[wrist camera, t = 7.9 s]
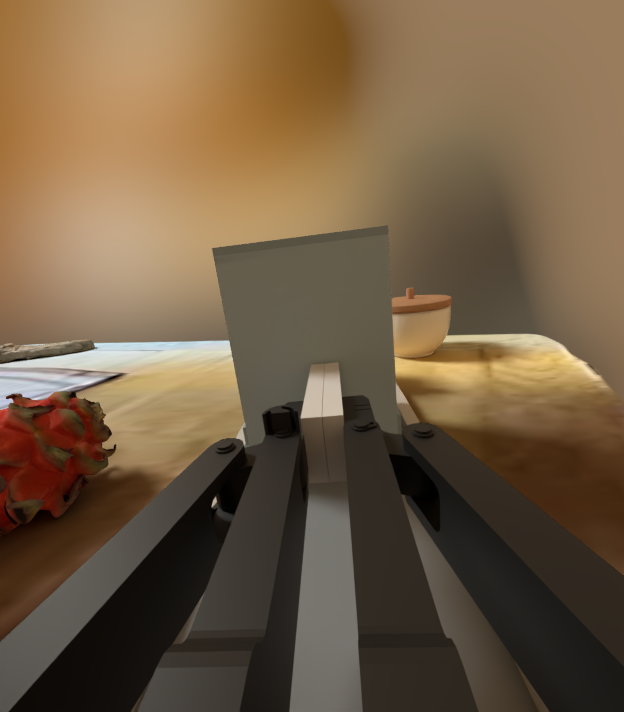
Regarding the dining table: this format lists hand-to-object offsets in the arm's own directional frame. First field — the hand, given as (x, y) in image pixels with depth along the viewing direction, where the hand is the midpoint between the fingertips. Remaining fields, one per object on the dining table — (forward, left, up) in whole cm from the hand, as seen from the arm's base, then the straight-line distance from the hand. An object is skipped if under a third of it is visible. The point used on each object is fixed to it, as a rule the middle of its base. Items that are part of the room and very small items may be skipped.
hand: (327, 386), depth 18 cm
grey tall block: (+3, +4, -7) cm, 8 cm away
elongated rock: (-12, +100, -7) cm, 101 cm away
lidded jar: (+29, +11, -7) cm, 32 cm away
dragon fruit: (-14, +14, -7) cm, 21 cm away
